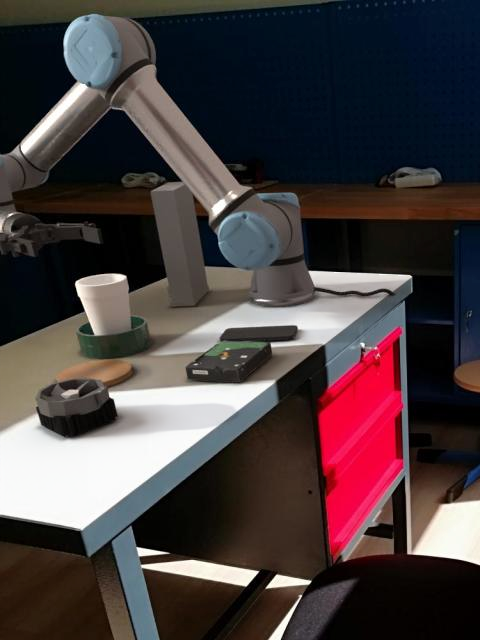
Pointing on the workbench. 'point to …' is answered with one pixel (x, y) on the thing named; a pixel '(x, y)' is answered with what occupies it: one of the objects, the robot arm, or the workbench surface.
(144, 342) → the pot
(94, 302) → the foam cup
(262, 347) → the disk drive
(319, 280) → the workbench surface
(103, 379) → the pot holder
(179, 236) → the tall grey upright pillar
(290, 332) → the phone
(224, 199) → the robot arm
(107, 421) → the cpu cooler
